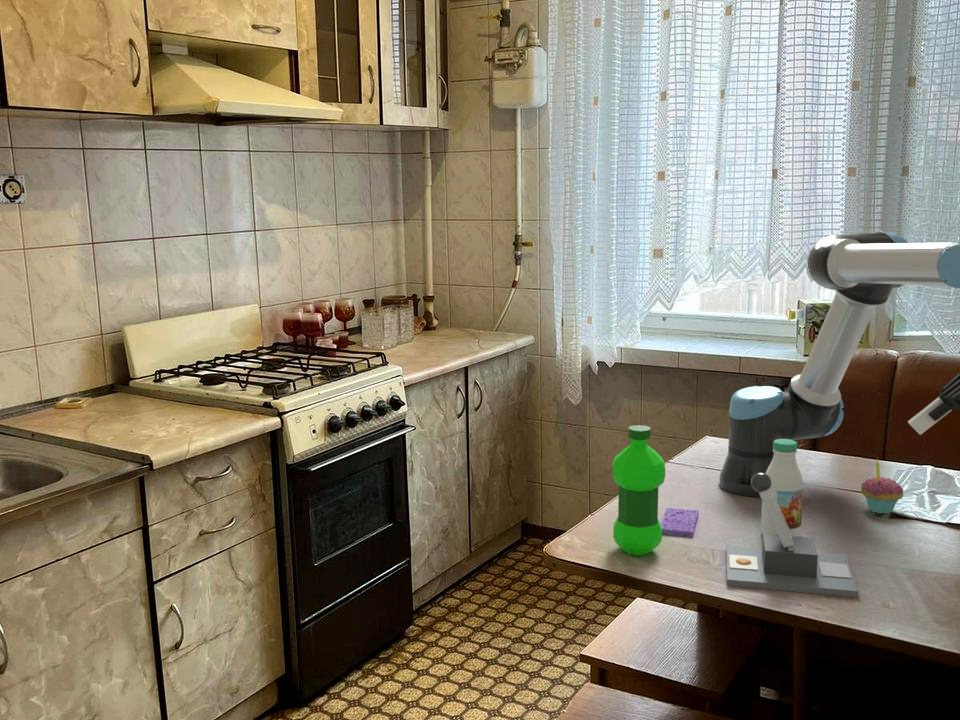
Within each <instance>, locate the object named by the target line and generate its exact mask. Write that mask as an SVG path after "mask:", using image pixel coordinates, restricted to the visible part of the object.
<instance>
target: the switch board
mask: <svg viewBox="0 0 960 720" xmlns="http://www.w3.org/2000/svg"><path fill="white" fill-rule="evenodd" d="M792 538H793V543H794V545H792V546H789V547H786V548H784V547H783V544H782V542H781V540H780V538H779V536H778V535H767V534H763V535H762V546H761V547H756V546H755V547H754V546H744V545H730V544H729V545H728V544H726V545H725V546H726V547H725V548H726V551H725V552H726V554H725V555H726V561H725V562H726V586H729V587H735V588H736V587H738V588H739V587H740V588H750V589H761V590H769V591H770V590H771V591H779V592H780V591H781V592H782V591H783V592H790V593H791V592H794V593H806V594H816V595H825V596H835V597H837V596H838V597H846V598H847V597H848V598H849V597H850V598H856V599H857V598H859V589H858V588H859V587H858V586H857V582H856V580H855V577H854V575H853V574H854V573H853V572H852V569H851V565H850V562H849V559H848V556H847V554H843V553H842V554H841V553H831V552H830V553H828V552H818V551H817V547H816V543H815V539H814V537H804V536H800V537H793V536H792Z"/></svg>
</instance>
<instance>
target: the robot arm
mask: <svg viewBox="0 0 960 720" xmlns="http://www.w3.org/2000/svg"><path fill="white" fill-rule="evenodd" d="M807 270H808V273H809V276H810V277H811V278H812V280H813V281H814V282H815V283H816V284H817V285H819V286H820V287H822V288H824V289H828V290H833V291H835V294H834V297H833V300H832V302H831V304H830V306H829V308H828V311H827V314H826V316H825V318H824V321H823V323H822V325H821V327H820V330H819V332H818V335H817V337H816V339H815V342H814V343H813V346H812V348H811V351H810V353H809V355H808V357H807V360H806V362H805V364H804V367H803V368H802V372H801V373H799V374H796V375H795V376H793V377H792V378H791V381H790V382H789V385H788V387H787V389H786V390H785V391H782V389H780V388H779V387H776V386H770V385H762V386H758V385H754V386H747V387H744V388H741V389H738V390H737V391H735V392H734V393H733V394H732V396H731V398H730V404H729V409H728V413H729V423H728V424H729V426H728V427H729V428H728V452H727V455H726V458H725V460H724V463H723V465H722V468H721V471H720V474H719V482H718V483H719V487H721V488H722V489H723V490H724V491H727V492H730V493H731V494H736V495H741V496H745V497H747V496H748V497H755V498H756V497H757V498H761V497H760V494H759V492H757V491H756V490H754V489H753V487H752V485H751V479H752V477H753V476H754V475H755V474H757V473H766V471H767V469H768V467H769V465H770V464H771V462H772V459H773V456H774V452H773V442H774V440H777V439H789V440H793V441H799V440H808V439H818V438H819V439H820V438H822V437H826V436H830V435H831V434H834V433H835V431H838V428H839V427H840V426H841V424H842V422H843V420H844V413H845V412H844V410H843V408H844V402H843V398H842V394H841V393H842V392H841V391H840V389H839V386H840V384H841V382H842V380H843V378H844V376H845V373H846V372H847V370H848V367H849V365H850V363H851V361H852V359H853V357H854V355H855V353H856V350H857V348H858V346H859V344H860V342H861V339H862V338H863V335H864V333H865V331H866V329H867V327H868V324H869V322H870V320H871V318H872V316H873V313H874V312H875V310H876V307H879V306H883V305H884V304H886V303H887V301H888V300H889V298H890V295H891V294H892V291H893V289H894V288H895V289H896V288H900V287H902V286H904V285H911V286H915V285H916V286H941V287H942V286H945V287H949V288H950V287H951V288H955V289H960V241H959V242H955V241H954V242H952V241H949V242H948V241H947V242H946V241H944V242H941V241H940V242H908V239H907V240H906V238H904V237H903V236H902V235H900V234H899V233H895V232H883V231H882V230H881V231H875V232H864V233H863V232H862V233H861V232H859V233H837V234H831V235H829V236H826V237H824V238H822V239H820V240H819V241H818V242H817V243H815V244H814V245H813V247H812V248H811V249H810V251H809V254H808V257H807ZM939 393H940V394H939V395H938V397H937V398H936V399H934V400H932V402H931V403H928V405H927V406H925V407H923V409H921V410H920V411H919V412H918V413H916V414H915V415H914V416H913V417H911V418H910V419H909V420H908V421H907V423H908V424H909V425H910V426H911V427H912V429H913V430H914V431H915V432H916V433H918V435H920V436H921V435H923V434H924V433H926V432H927V430H929V429H930V428H931V427H932V426H935V424H937V423H938V422H940V420H942V419H943V418H944V417H946V416H947V415H948V414H950V413H951V412H952V411H955V410H957V412H958V411H959V412H960V372H959V373H957V374H956V375H955V376H954V377H953V378H952V379H951V380H950V381H949V382H947V383H946V384H945V385H944V386H942V388H941V389H940V390H939Z"/></svg>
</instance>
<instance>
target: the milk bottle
mask: <svg viewBox="0 0 960 720" xmlns="http://www.w3.org/2000/svg"><path fill="white" fill-rule="evenodd" d="M797 450H798V442H797V440H789V439H777V440H774V442H773V452H774V456H773V459H772V462H771V464H770V465H769V467H768V469H767V471H766V473H765V474H767V475H768V476H769V477H770V479H771V482H772V484H771V487H770V488H771V490H772V492H773V494H774V496H775V498H776V501H777V503H778V505H779V507H780V509H781V512H782V514H783V516H784V518H785V520H786V522H787V525H788V527H789V529H790V531H791V533H792V536H793V537H801V531H802V518H803V517H802V515H803V513H802V512H803V493H804V491H803V488H804V483H803V475H802V473H801V470H800V468H799V466H798V462H797V459H796V454H797V453H798V451H797ZM761 502H762V503H761V516H760V517H761V521H760V532H761V535H762V536H763V534H767V535H778V533H777V531H776V529H775V527H774V525H773V523H772V520H771V518H770V516H769V514H768V512H767V510H766V507H765V505H764V503H763V501H762V500H761Z"/></svg>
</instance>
